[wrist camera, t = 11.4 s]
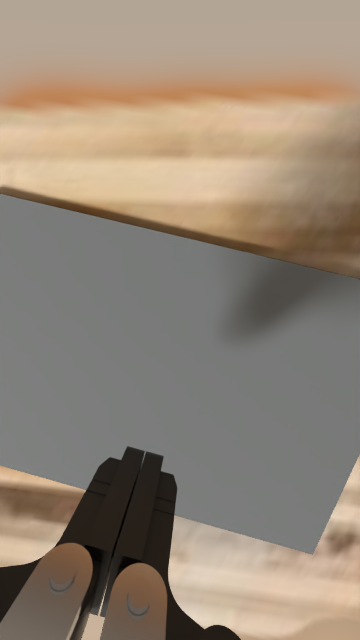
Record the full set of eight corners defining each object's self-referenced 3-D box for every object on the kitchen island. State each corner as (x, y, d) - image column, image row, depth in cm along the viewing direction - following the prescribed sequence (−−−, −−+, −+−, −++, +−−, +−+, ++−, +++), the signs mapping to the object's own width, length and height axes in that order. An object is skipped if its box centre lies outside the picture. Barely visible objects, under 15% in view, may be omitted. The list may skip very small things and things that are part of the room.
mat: (423, 295, 14) (432, 296, 13) (309, 545, 18) (312, 554, 18) (-5, 193, 15) (-13, 190, 15) (-21, 451, 19) (-28, 457, 19)
